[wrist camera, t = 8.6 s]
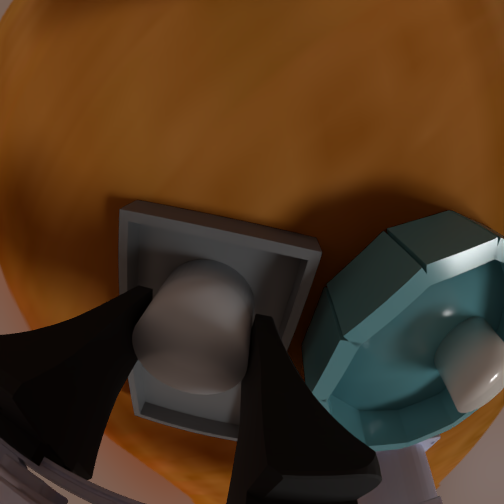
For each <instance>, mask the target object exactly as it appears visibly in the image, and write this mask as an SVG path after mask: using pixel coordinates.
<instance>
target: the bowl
mask: <svg viewBox="0 0 504 504" xmlns="http://www.w3.org/2000/svg"><path fill="white" fill-rule="evenodd" d="M387 232H388V234H387V233H385V232H384V231H383V232H382V233H381V234H380V235H379V236H378V237H377V238H376V239H374V240H373V241H372V242H371V243H370V244H369V245H368V246H367V247H366V248H365V249H364V250H363V251H362V252H361V253H360V254H359V255H358V256H357V257H356V258H355V259H353V260H352V261H351V262H350V263H349V264H348V265H347V266H346V267H345V268H344V269H343V270H342V271H340V272H339V273H338V274H337V275H336V276H335V277H334V278H333V279H332V280H330V281H329V282H328V283H327V287H328V288H326V287H324V289H323V292H322V295H321V297H320V300H319V303H318V305H317V308H316V310H315V313H314V315H313V318H312V321H311V323H310V326H309V328H308V331H307V333H306V335H305V338H304V340H303V343H302V356H303V366H304V376H305V384H306V385H307V386H308V388H309V389H310V391H311V392H312V393H313V395H314V396H315V397H316V398H317V400H318V401H319V402H320V403H321V404H322V405H323V406H324V408H325V409H326V410H327V411H328V412H329V413H330V414H331V415H332V416H333V417H334V418H335V419H336V420H337V421H338V422H339V423H340V424H341V425H342V426H343V427H344V428H346V429H347V430H348V431H349V432H350V433H351V434H352V435H354V436H355V437H356V438H358V439H359V440H360V441H362V442H363V443H365V444H366V445H367V446H369V447H370V448H371V449H373V450H374V451H386V450H395V449H402V448H404V447H405V448H406V447H409V446H412V445H414V444H417V443H419V442H422V441H424V440H427V439H429V438H432V437H434V436H436V435H438V434H441V433H443V432H445V431H447V430H449V429H451V428H452V426H453V427H455V426H456V425H457V424H459V423H460V422H462V421H463V420H464V419H466V418H467V417H468V416H470V415H471V414H472V413H473V412H475V411H476V410H477V409H476V410H473V411H471V412H467V413H460V412H458V410H457V408H456V406H455V404H454V402H453V400H452V397H451V395H450V393H449V391H448V389H447V387H446V385H445V383H444V382H443V380H442V378H441V376H440V374H439V372H438V370H437V368H436V366H435V364H434V357H435V353H436V351H437V349H438V347H439V345H440V343H441V342H442V340H443V339H444V338H445V337H446V335H447V334H448V333H449V332H450V331H451V330H452V329H453V328H455V327H456V326H457V325H458V324H460V323H461V322H463V321H464V320H467V319H469V318H471V317H477V316H478V317H482V318H484V319H485V320H486V321H487V322H488V324H489V325H490V326H491V327H492V328H493V330H494V331H495V332H496V333H497V334H498V336H499V337H500V338H501V339H502V341H503V342H504V236H503V235H501V234H499V233H498V232H496V231H494V230H492V229H491V228H489V227H486V226H484V225H482V224H480V223H478V222H476V221H474V220H472V219H470V218H468V217H465V216H463V215H461V214H459V213H457V212H454V211H449V210H448V211H445V212H442V213H438V214H435V215H432V216H428V217H425V218H421V219H418V220H415V221H411V222H408V223H405V224H401V225H398V226H394V227H391V228H387ZM479 408H480V407H479ZM479 408H478V409H479Z"/></svg>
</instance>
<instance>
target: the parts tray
mask: <svg viewBox="0 0 504 504" xmlns="http://www.w3.org/2000/svg"><path fill="white" fill-rule="evenodd" d="M321 255H322V250H321V248H320V246H319V243H318V241H317V239H316V238H315V237H311V236H307V235H303V234H298V233H294V232H290V231H285V230H281V229H276V228H272V227H267V226H263V225H258V224H254V223H249V222H245V221H240V220H235V219H231V218H226V217H221V216H216V215H212V214H207V213H202V212H197V211H192V210H187V209H182V208H177V207H172V206H167V205H162V204H156V203H151V202H146V201H140V200H136V201H134V202H132V203H130V204H128V205H126V206H124V207H122V208H121V209H120V212H119V246H118V262H119V295H121V294H123V293H125V292H127V291H129V290H130V289H132V288H134V287H136V286H138V285H140V286H143V287H147V288H151V289H153V298H154V297H155V295H156V294H157V293H158V291H159V290H160V288H161V287H162V285H163V284H164V282H165V281H166V280H167V278H168V277H169V275H170V274H171V273H172V271H173V270H174V269H176V268H177V267H178V266H180V265H181V264H183V263H186V262H188V261H192V260H198V259H208V260H214V261H218V262H221V263H224V264H226V265H228V266H230V267H232V268H233V269H235V270H236V271H237V272H239V273H240V274H241V275H242V276H243V277H244V278H245V280H246V281H247V282H248V284H249V285H250V287H251V289H252V292H253V295H254V301H255V307H254V316H253V322H254V318H255V314H261V315H266V316H271V317H272V318H273V319H274V322H275V325H276V328H277V330H278V333H279V335H280V338H281V340H282V342H283V344H284V347H285V349H286V351H287V350H288V347H289V345H290V342H291V340H292V337H293V335H294V332H295V329H296V327H297V324H298V321H299V319H300V316H301V313H302V310H303V308H304V305H305V302H306V299H307V296H308V294H309V291H310V288H311V285H312V282H313V279H314V276H315V273H316V270H317V267H318V264H319V261H320V258H321ZM252 326H253V325H252ZM128 381H129V387H130V393H131V398H132V404H133V409H134V414H135V415H136V416H139V417H142V418H145V419H148V420H151V421H154V422H158V423H161V424H164V425H168V426H171V427H175V428H178V429H182V430H186V431H190V432H194V433H198V434H203V435H207V436H212V437H217V438H222V439H227V440H233V441H237V440H238V433H239V424H240V402H241V381H240V383H239V384H237V385H236V386H235V387H233V388H231V389H230V390H227V391H225V392H221V393H217V394H209V395H200V394H192V393H187V392H183V391H180V390H177V389H174V388H172V387H170V386H168V385H166V384H164V383H162V382H161V381H159V380H158V379H156V378H155V377H154V376H152V375H151V374H150V373H149V372H148V371H147V370H146V369H145V368H144V367H143V365H142V364H141V363H140V361H139V360H137V362H136V364H135V366H134V367H133V369H132V371H131V373H130V374H129V376H128Z"/></svg>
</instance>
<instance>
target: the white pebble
mask: <svg viewBox="0 0 504 504" xmlns="http://www.w3.org/2000/svg"><path fill="white" fill-rule="evenodd" d="M254 307H255V301H254V295H253V292H252V289H251V287H250V285H249V284H248V282H247V281H246V280H245V278H244V277H243V276H242V275H241V274H240V273H239V272H237V271H236V270H235V269H233V268H232V267H230V266H228V265H226V264H224V263H221V262H218V261H214V260H208V259H198V260H192V261H188V262H186V263H183V264H181V265H180V266H178V267H177V268H176V269H174V270H173V271H172V273H171V274H170V275H169V277H168V278H167V280H166V281H165V282H164V284H163V285H162V287H161V288H160V290H159V291H158V293H157V294H156V295H155V297H154V298H153V300H152V301H151V303H150V304H149V306H148V307H147V309H146V310H145V312H144V313H143V315H142V316H141V318H140V319H139V321H138V322H137V324H136V325H135V327H134V330H133V334H132V344H133V348H134V351H135V354H136V356H137V358H138V360H139V361H140V363H141V364H142V365H143V367H144V368H145V369H146V370H147V371H148V372H149V373H150V374H151V375H152V376H154V377H155V378H156V379H158V380H159V381H161V382H162V383H164V384H166V385H168V386H170V387H172V388H174V389H177V390H180V391H183V392H187V393H192V394H200V395H209V394H217V393H221V392H225V391H227V390H230V389H231V388H233V387H235V386H236V385H237V384H239V383H240V381H241V380H242V379H243V378H244V376H245V374H246V371H247V367H248V359H249V351H250V341H251V332H252V325H253V316H254Z"/></svg>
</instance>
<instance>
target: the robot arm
mask: <svg viewBox="0 0 504 504" xmlns="http://www.w3.org/2000/svg"><path fill="white" fill-rule="evenodd" d="M152 300H153V289H151V288H147V287H143V286H140V285H138V286H136V287H134V288H132V289H130V290H129V291H127V292H125V293H123V294H121V295H119V296H117V297H116V298H114V299H112V300H110V301H108V302H106V303H104V304H102V305H100V306H98V307H96V308H94V309H92V310H90V311H88V312H86V313H83V314H81V315H79V316H77V317H74V318H72V319H69V320H66V321H64V322H61V323H58V324H55V325H51V326H47V327H44V328H40V329H36V330H32V331H27V332H22V333H15V334H6V335H0V504H67V503H68V500H67V498H65V497H64V496H62V495H60V494H59V493H58V492H56V491H55V490H54V489H52V488H51V487H50V486H48V485H47V484H46V483H45V482H44V481H43V480H41V479H40V478H38V477H37V476H35V475H34V474H33V473H31V472H30V471H29V470H28V469H27V466H28V467H30V468H31V469H33V470H34V471H35V472H37V473H39V474H40V475H42V476H43V477H45V478H46V479H48V480H50V481H51V482H53V483H54V484H56V485H58V486H60V487H61V488H63V489H65V490H67V491H68V492H70V493H72V494H74V495H76V496H78V497H80V498H82V499H84V500H86V501H88V502H90V503H92V504H145V503H141V502H139V501H136V500H133V499H130V498H127V497H124V496H122V495H119V494H117V493H114V492H112V491H109V490H107V489H105V488H103V487H100V486H98V485H96V484H94V483H92V482H90V481H87V480H89V479H91V478H92V475H93V470H94V466H95V461H96V457H97V453H98V449H99V446H100V443H101V440H102V436H103V433H104V430H105V427H106V425H107V422H108V419H109V416H110V413H111V411H112V408H113V406H114V403H115V401H116V398H117V396H118V394H119V392H120V390H121V388H122V386H123V385H124V383H125V381H126V379H127V378H128V376H129V374H130V373H131V371H132V369H133V367H134V366H135V364H136V362H137V360H138V358H137V356H136V354H135V351H134V348H133V344H132V334H133V330H134V327H135V325H136V324H137V322H138V321H139V319H140V318H141V316H142V315H143V313H144V312H145V310H146V309H147V307H148V306H149V304H150V303H151V301H152ZM439 439H440V435H439V434H438V435H436V436H434V437H432V438H429V439H427V440H424V441H422V442H419V443H417V444H414V445H412V446H409V447H406V448H405V447H404V448H402V449H395V450H386V451H374V450H373V449H371V448H370V447H369V446H367V445H366V444H365V443H363V442H362V441H360V440H359V439H358V438H356V437H355V436H354V435H352V434H351V433H350V432H349V431H348V430H347V429H346V428H344V427H343V426H342V425H341V424H340V423H339V422H338V421H337V420H336V419H335V418H334V417H333V416H332V415H331V414H330V413H329V412H328V411H327V410H326V409H325V408H324V406H323V405H322V404H321V403H320V402H319V401H318V400H317V398H316V397H315V396H314V395H313V393H312V392H311V391H310V389H309V388H308V386H307V385H306V384H305V382H304V381H303V379H302V378H301V376H300V374H299V373H298V371H297V369H296V368H295V366H294V364H293V362H292V361H291V359H290V357H289V355H288V353H287V351H286V349H285V347H284V344H283V342H282V340H281V338H280V335H279V333H278V330H277V328H276V325H275V322H274V319H273V318H272V317H271V316H266V315H261V314H255V318H254V322H253V326H252V332H251V341H250V351H249V359H248V367H247V371H246V374H245V376H244V378H243V379H242V380H241V402H240V424H239V433H238V440H237V446H236V452H235V458H234V464H233V470H232V476H231V482H230V487H229V493H228V498H227V503H226V504H442V499H441V497H440V496H437V493H436V489H435V485H434V481H433V478H432V474H431V471H430V467H429V464H428V461H427V457H426V454H425V451H426V450H428V449H429V448H430V447H431V446H432V445H433V444H434V443H436V442H437V441H438V440H439ZM26 465H27V466H26Z"/></svg>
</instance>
